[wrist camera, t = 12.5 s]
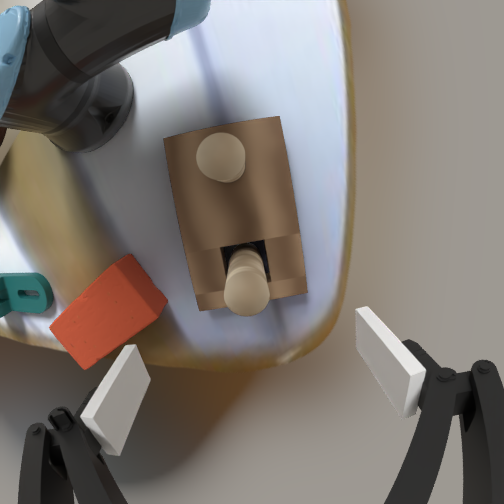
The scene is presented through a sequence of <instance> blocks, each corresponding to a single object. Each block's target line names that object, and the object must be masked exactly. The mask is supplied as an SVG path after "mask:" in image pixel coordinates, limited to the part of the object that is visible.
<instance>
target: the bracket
mask: <svg viewBox="0 0 504 504" xmlns="http://www.w3.org/2000/svg"><path fill="white" fill-rule="evenodd" d="M24 290H36V291H37V292H38V293H39V295H27V294H26V293H25V291H24ZM52 302H53V292H52V288H51V286H50V284H49V282H48V281H47V279H46V278H45V277H44V276H43V275H41V274H39V273H0V318H1V317H3V316H5V315H6V314H8V313H10V312H11V311H19V312H29V313H42V312H44V311H45V310H46V309H48V308H49V307H50V306H51V305H52Z"/></svg>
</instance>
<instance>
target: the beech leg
mask: <svg viewBox="0 0 504 504" xmlns="http://www.w3.org/2000/svg"><path fill="white" fill-rule="evenodd" d="M269 297H270V293H269V288H268V284H267V279H266V275H265V271H264V264H263V260H262V257H261V254H260V251H259V249H258V248H257V247H256V246H255V245H253V244H251V243H242V244H239V245H237V246H236V247H235V248H234V249H233V251H232V254H231V258H230V261H229V269H228V274H227V279H226V284H225V290H224V300H225V303H226V305H227V307H228V308H229V309H230V310H231V311H232V312H234V313H235V314H238V315H241V316H253V315H256V314H258V313H260V312H261V311H262V310H264V308H265V307H266V306H267V304H268V302H269Z"/></svg>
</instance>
